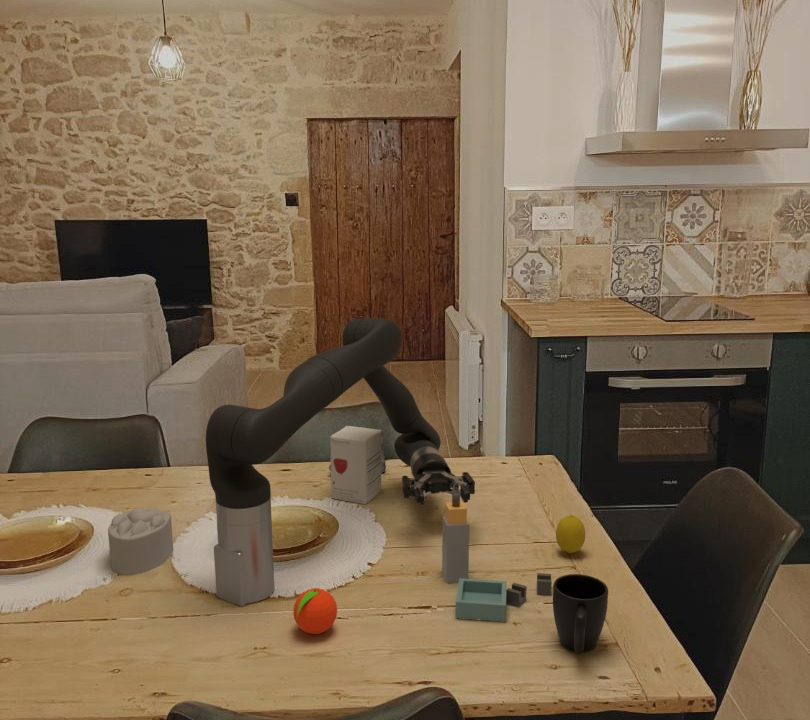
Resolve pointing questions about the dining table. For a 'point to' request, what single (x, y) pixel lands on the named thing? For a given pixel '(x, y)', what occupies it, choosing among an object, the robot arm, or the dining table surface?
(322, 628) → the clementine
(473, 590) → the box
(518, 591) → the cable clips
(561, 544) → the lemon
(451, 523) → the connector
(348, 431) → the supplement box
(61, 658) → the dining table surface
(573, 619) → the mug
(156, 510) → the lumpy-topped squat cylinder
